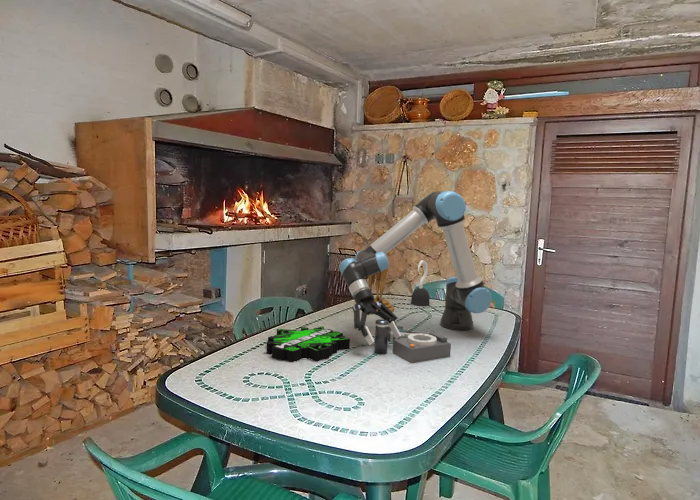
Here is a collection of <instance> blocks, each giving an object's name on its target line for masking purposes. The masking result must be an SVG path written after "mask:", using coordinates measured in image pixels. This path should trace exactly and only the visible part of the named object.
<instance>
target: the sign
mask: <svg viewBox="0 0 700 500" xmlns="http://www.w3.org/2000/svg"><path fill="white" fill-rule="evenodd" d="M350 343H351V338H350V337H346V336H345V335H344V333H343V332H340V331H334V330H332V329H330V328H324V326H323V325H321V326H318V327H314V328H311V329H309V327H304V326H302V327H300V330H294V329H293V330H292V329H285V328H276V334H275V335H271V336H268V337H267V342H266V351H265V352H266V355H271V358H272V359H273V360H279V361H283V362H284V361H287V362H289V363H295V362H294V361H296V362H298V361H301V360H302V359H301V358H307V359H309V358H310V360H311V359H312V360H311V361H313V362H316V361H317V363H319V362H320V361H323V360H324V359H325V360H327V359H328V360H329V359H330V357H331V356H333V355H335V354H337V353H338V351H344V350H346V351H347V350H350V349H351V348H350V346H351V345H350ZM300 359H301V360H300ZM297 360H298V361H297ZM318 361H319V362H318Z"/></svg>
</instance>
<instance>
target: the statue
mask: <svg viewBox="0 0 700 500" xmlns="http://www.w3.org/2000/svg"><path fill="white" fill-rule="evenodd" d="M383 234H384V231H383V230H381V229H380V230H378V231H377V236H376V237H377V239H378V238H380V237H381V236H382V235H383ZM394 251H395V247H394V248H393V249H392V250H391V251H389V252H388V253H387V254H386V255H387V257H391V256H392V255H393V254H394ZM388 269H389V267H388V268H387V269H385V270H383V271H381V272H378V273H376V274H373V275H371V276H368V286H369V288H370V290H371V292H372V289H373V287H372V286H373V285H375V290H376V297H374V301H375V302H379V301H380V300H381V301H382V302H383V304H384V305H385V306H386V307H387V308H388V309H389V310H390V311H391V312H392V313H394V311H395V307H394V306H392V303H391V302H390V301H389V300H388V299H385V298H382V297H383V295H384V290H385V288H386V287H385V286H386V285H385V283H386V277H387V274H388Z"/></svg>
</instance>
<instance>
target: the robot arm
mask: <svg viewBox="0 0 700 500" xmlns="http://www.w3.org/2000/svg"><path fill="white" fill-rule="evenodd" d="M466 208H467V205H466V201H465V199H464V197H462V195H461V194H460V193H458V192H455V191H452V190H445V191H444V190H443V191H441V190H437V191H433V192H430V193H429V194H427V195H426V196H425V197H423V198H422V199H421V200H420V201H419V202H417V203H416V204H415V205H414V206H413V207H412V211H410V212H409V213H408V214H406V215H405V216H404V217H403V218H401V219H400V220H399V221H398V222H397V223H395V224H393V226H391V228H389V229H388V230H387V231H386V232H385V233H383V235H382V236H381V237H380V238H378V237H377V239H376V240H374V241H373V242H372V243H371V244H369V246H367V247H366V248H365V249H361V250H359V251H358V252H356V253H355V256H354V258H353V257H350V258H348V257H347V258H346V259H344V260H342V261H341V262H340V263H339V266H338V269H339V271H340V273H341V276H342V278H343V280H344V281H345V284H346V285H347V288H348V289H349V292H350V294H351V296H352V297H353V300H354V303H355V304H354V305H353V306H352V310H353V327H354V329H355V330H357V331H359V332H361V334H362V336H363V337H364V338H365V340H366V342H367V344H368V346H371V345H372V344H374V343H375V338H374V337H373V335H372V334H371V332H370V329H369V327H368V326H367V325H366V321H367V317H368V316H370V315H375V316H378V317H379V318H381V320H387V321H389V327H390V329H391V331H392V333H393V335H394V336H395V338H396V339H398V338H399V337H400V336H401V334H400V332H399V330H398V327H397V323H396V321H397V320H398V317H397V315H395V314H394V312H391V311H390V310H389V309H388V308H387V307H386V306H385V305H384V304H383V302H382V301H381V300H380V301H379V302H375V301H374V298H375V295H374V293H373V292H372V291H371V290H370V288H369V283H367V280H366V278H369V276H371V275H373V274H375V275H376V273H378V272H381V271H383V270H385V269H387V268H388V269H389V266H390V263H389V259H388V256H387V255H388V254H387V253H388V252H389V251H390V252H391V251H392V249H393V248H394V249H395V248H396V246H398V245H399V244H401V242H403V241H404V240H405V239H407V237H410V235H412V234H413V233H414V232H415V231H417V230H418V229H419V228H420V227H422V225H427V224H428V223H430V222H431V221H433V220H435V221H436V226H437V228H439V229H441V230H442V232H443V235H444V238H445V242H446V246H447V248H448V249H447V250H448V251H449V252H448V253H449V256H450V259H451V263H452V266H453V269H454V273H455V276H452V277H451V276H450V277H448V278H447V279H446V283H445V286H446V287H445V299H444V300H445V302H444V303H445V304H444V310H443V312H442V315H441V317H440V321H439V325H440V326H441V327H442V328H446V329H450V330H454V331H455V330H456V331H470V330H472V329H474V320H473V316H472V313H473V314H481V313H484V312H485V311H486V310H488V309H489V307H490V306H491V303H492V301H493V300H492V299H493V297H492V294H491V292H490V291H489V289H488V288H486V286H485V285H484V284H485V283H484V280H483V278H482V277H481V276H479V275H478V273H477V270H476V267H475V263H474V259H473V255H472V252H471V249H470V245H469V242H468V238H467V235H466V231H465V228H464V227H465V226H464V222H465V220H466V217H465V211H466V210H467V209H466ZM360 311H361V312H360ZM360 313H361V314H360Z"/></svg>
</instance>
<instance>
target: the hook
mask: <svg viewBox="0 0 700 500" xmlns="http://www.w3.org/2000/svg"><path fill="white" fill-rule="evenodd" d="M422 265H423V275H422V277H421V278H420V280H419V285H418V287H417V288H415V289H414V290H413V291H412V294H411V300H410V306H411V307H414V306H415V307H414V308H422V307H424V308H429V307H430V293H429V291H428V290H427V289H426V288H424V285H423V284H424V282H425V281H426V279H427V277H428V272H429V271H428V270H429V267H428V262H427V261H426V260H424V259H421V260H420V261H419V262H418V265H417V273H419V272H420V268H421V266H422ZM428 306H429V307H428Z"/></svg>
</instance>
